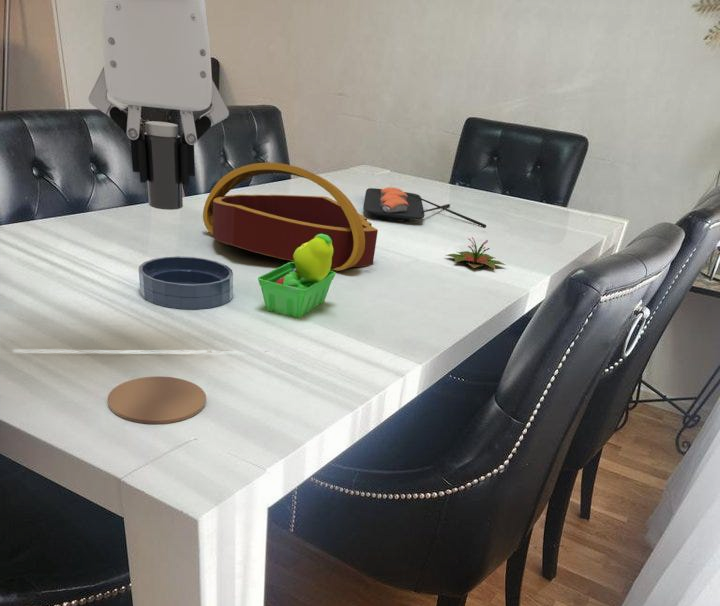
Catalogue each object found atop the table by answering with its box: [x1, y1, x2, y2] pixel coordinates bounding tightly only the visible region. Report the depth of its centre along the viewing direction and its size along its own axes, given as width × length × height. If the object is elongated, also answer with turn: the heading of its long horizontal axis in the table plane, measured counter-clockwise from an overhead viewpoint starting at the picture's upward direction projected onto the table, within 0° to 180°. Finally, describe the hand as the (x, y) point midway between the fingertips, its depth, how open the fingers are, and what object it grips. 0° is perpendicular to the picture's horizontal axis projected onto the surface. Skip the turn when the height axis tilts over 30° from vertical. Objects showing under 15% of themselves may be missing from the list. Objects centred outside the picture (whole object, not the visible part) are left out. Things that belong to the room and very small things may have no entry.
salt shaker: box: [143, 120, 184, 211], centre depth 69 cm, size 4×4×8 cm
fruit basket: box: [257, 234, 337, 319], centre depth 93 cm, size 11×9×11 cm
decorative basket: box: [202, 162, 379, 272], centre depth 116 cm, size 34×29×15 cm
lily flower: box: [446, 236, 507, 270], centre depth 127 cm, size 12×12×5 cm
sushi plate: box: [363, 186, 487, 228], centre depth 160 cm, size 29×30×4 cm
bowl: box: [138, 255, 234, 310], centre depth 94 cm, size 13×13×4 cm
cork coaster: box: [107, 375, 207, 425], centre depth 69 cm, size 10×10×1 cm
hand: (164, 179), depth 70 cm, fingers closed on salt shaker, 3 cm apart
